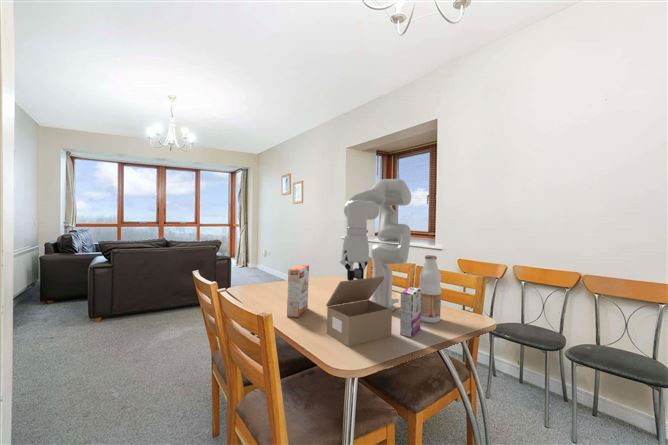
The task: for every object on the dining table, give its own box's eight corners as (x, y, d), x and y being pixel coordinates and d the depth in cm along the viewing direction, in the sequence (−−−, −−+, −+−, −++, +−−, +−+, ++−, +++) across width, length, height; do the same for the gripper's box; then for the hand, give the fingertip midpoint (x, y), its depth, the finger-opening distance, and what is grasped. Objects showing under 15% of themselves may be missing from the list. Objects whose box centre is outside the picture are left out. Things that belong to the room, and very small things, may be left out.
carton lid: (368, 299, 126) (361, 286, 130) (385, 277, 118) (376, 264, 122) (326, 306, 115) (320, 292, 119) (341, 282, 107) (333, 267, 111)
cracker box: (299, 318, 131) (300, 270, 131) (286, 316, 132) (287, 269, 132) (308, 308, 145) (309, 264, 144) (296, 307, 146) (297, 264, 145)
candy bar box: (408, 326, 124) (409, 286, 124) (420, 328, 122) (421, 288, 121) (399, 335, 115) (400, 292, 114) (412, 338, 112) (413, 294, 112)
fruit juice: (417, 321, 130) (419, 256, 129) (417, 314, 139) (419, 254, 138) (441, 324, 127) (443, 258, 127) (439, 317, 136) (441, 255, 136)
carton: (367, 323, 126) (368, 299, 126) (391, 335, 114) (392, 309, 114) (326, 333, 115) (326, 306, 115) (347, 347, 103) (348, 317, 103)
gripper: (367, 231, 124) (365, 276, 125) (333, 232, 115) (331, 280, 115) (379, 233, 118) (378, 279, 118) (344, 233, 109) (343, 284, 109)
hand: (355, 279), depth 117 cm, fingers closed on carton lid, 4 cm apart
